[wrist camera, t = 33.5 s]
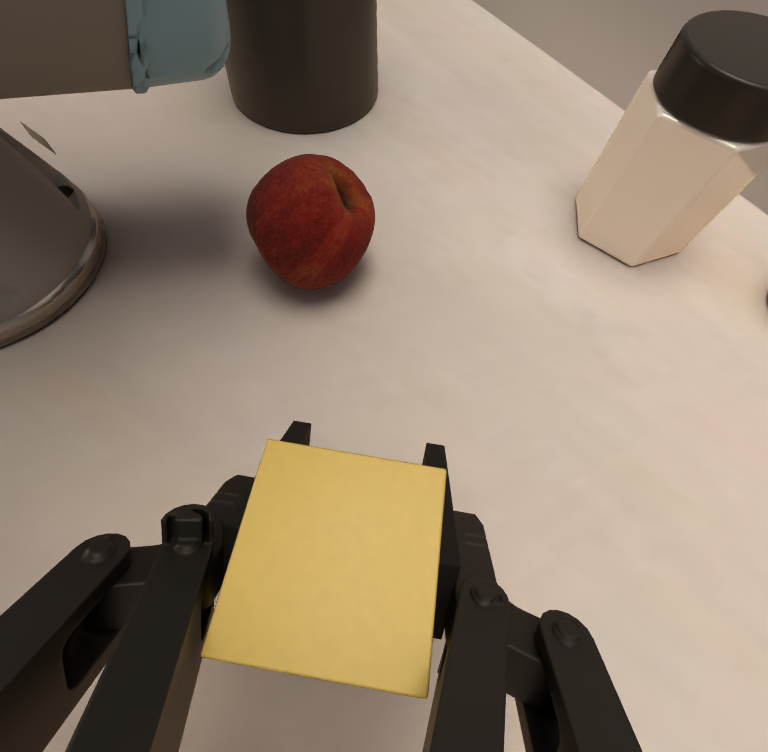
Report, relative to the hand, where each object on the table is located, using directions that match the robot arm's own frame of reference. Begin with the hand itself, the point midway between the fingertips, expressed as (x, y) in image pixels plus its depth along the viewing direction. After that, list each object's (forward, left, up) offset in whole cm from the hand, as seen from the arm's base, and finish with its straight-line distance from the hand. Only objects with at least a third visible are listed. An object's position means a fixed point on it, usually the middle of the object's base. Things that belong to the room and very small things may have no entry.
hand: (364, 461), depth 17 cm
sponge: (0, -4, -4) cm, 6 cm away
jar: (+17, +23, -5) cm, 29 cm away
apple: (-6, +14, -5) cm, 17 cm away
